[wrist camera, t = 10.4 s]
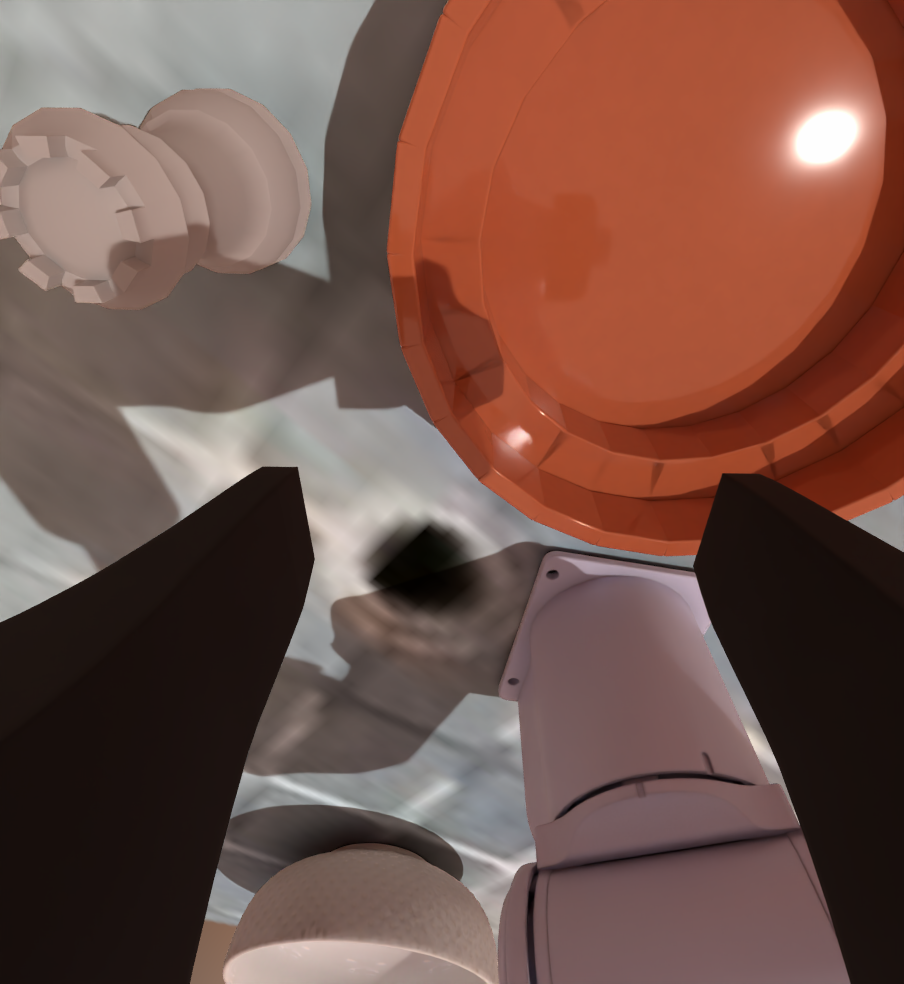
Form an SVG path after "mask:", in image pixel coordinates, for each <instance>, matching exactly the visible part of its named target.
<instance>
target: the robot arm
mask: <svg viewBox="0 0 904 984" xmlns="http://www.w3.org/2000/svg"><path fill="white" fill-rule="evenodd" d="M314 560H315V558H314V552H313V547H312V542H311V536H310V531H309V525H308V520H307V515H306V509H305V504H304V499H303V493H302V488H301V482H300V477H299V472H298V467H261V468H260V469H258V470H256V471H254V472H253V473H251V474H249V475H248V476H246V477H245V478H243V479H242V480H240V481H239V482H237V483H236V484H234V485H233V486H231V487H230V488H228V489H227V490H225V491H224V492H222V493H221V494H219V495H218V496H217V497H215V498H214V499H212V500H211V501H209V502H208V503H206V504H205V505H203V506H202V507H200V508H199V509H197V510H196V511H195V512H193V513H192V514H190V515H189V516H187V517H186V518H184V519H183V520H181V521H180V522H178V523H177V524H175V525H174V526H172V527H171V528H169V529H168V530H166V531H165V532H163V533H161V534H160V535H158V536H157V537H155V538H153V539H152V540H150V541H149V542H147V543H145V544H144V545H142V546H140V547H139V548H137V549H136V550H134V551H132V552H131V553H129V554H128V555H126V556H124V557H123V558H121V559H120V560H118V561H116V562H115V563H113V564H112V565H110V566H108V567H106V568H105V569H103V570H101V571H99V572H98V573H96V574H94V575H92V576H91V577H89V578H87V579H85V580H83V581H82V582H80V583H78V584H76V585H74V586H72V587H71V588H69V589H67V590H65V591H63V592H61V593H59V594H57V595H55V596H53V597H51V598H49V599H48V600H46V601H44V602H42V603H40V604H38V605H36V606H34V607H32V608H30V609H28V610H26V611H24V612H22V613H20V614H18V615H16V616H14V617H11V618H9V619H7V620H5V621H3V622H0V984H190V980H191V975H192V970H193V966H194V962H195V957H196V953H197V949H198V945H199V941H200V936H201V932H202V928H203V924H204V919H205V915H206V911H207V907H208V902H209V898H210V894H211V890H212V885H213V881H214V877H215V874H216V870H217V866H218V862H219V858H220V854H221V850H222V846H223V843H224V839H225V835H226V831H227V827H228V823H229V819H230V816H231V812H232V808H233V805H234V801H235V798H236V794H237V790H238V787H239V783H240V780H241V776H242V773H243V769H244V765H245V762H246V758H247V755H248V751H249V748H250V746H251V743H252V740H253V737H254V734H255V731H256V728H257V725H258V722H259V720H260V717H261V715H262V712H263V710H264V707H265V705H266V702H267V700H268V697H269V695H270V692H271V689H272V687H273V684H274V682H275V679H276V677H277V674H278V672H279V669H280V667H281V664H282V662H283V659H284V656H285V654H286V651H287V649H288V646H289V644H290V641H291V638H292V636H293V633H294V631H295V628H296V625H297V623H298V620H299V618H300V615H301V612H302V609H303V606H304V602H305V598H306V594H307V590H308V586H309V582H310V578H311V573H312V569H313V564H314ZM693 567H694V571H695V572H688V571H682V570H676V569H669V568H663V567H656V566H650V565H644V564H637V563H631V562H625V561H618V560H612V559H606V558H599V557H593V556H587V555H580V554H574V553H567V552H561V551H552V552H549V553H547V554H546V555H545V556H544V558H543V560H542V563H541V566H540V569H539V572H538V574H537V577H536V580H535V583H534V586H533V589H532V592H531V595H530V598H529V600H528V603H527V606H526V609H525V612H524V615H523V618H522V621H521V624H520V626H519V629H518V632H517V635H516V638H515V641H514V644H513V647H512V650H511V652H510V655H509V658H508V661H507V664H506V667H505V670H504V673H503V676H502V678H501V681H500V684H499V688H498V690H499V696H500V697H501V698H503V699H505V700H511V701H518V707H519V721H520V734H521V747H522V760H523V773H524V786H525V800H526V811H527V817H528V823H529V827H530V830H531V833H532V835H533V838H534V840H535V846H536V858H537V862H534V863H528V864H525V865H523V866H521V867H520V868H519V869H518V871H517V872H516V874H515V876H514V879H513V881H512V884H511V888H510V890H509V891H508V893H507V895H506V898H505V900H504V903H503V907H502V911H501V917H500V924H499V936H498V978H499V984H904V552H902V551H900V550H898V549H897V548H895V547H893V546H891V545H889V544H888V543H886V542H884V541H882V540H880V539H879V538H877V537H875V536H873V535H871V534H870V533H868V532H866V531H864V530H863V529H861V528H859V527H857V526H856V525H854V524H852V523H850V522H849V521H847V520H845V519H843V518H842V517H840V516H838V515H836V514H835V513H833V512H831V511H829V510H828V509H826V508H824V507H822V506H821V505H819V504H817V503H815V502H814V501H812V500H810V499H808V498H807V497H805V496H803V495H801V494H799V493H797V492H796V491H794V490H792V489H790V488H788V487H786V486H784V485H783V484H781V483H779V482H777V481H775V480H773V479H770V478H768V477H766V476H764V475H761V474H746V473H722V476H721V479H720V482H719V485H718V489H717V492H716V495H715V498H714V501H713V504H712V508H711V511H710V514H709V517H708V520H707V524H706V527H705V530H704V533H703V536H702V539H701V543H700V546H699V549H698V552H697V555H696V559H695V562H694V565H693ZM550 570H556V572H554V573H548V571H550ZM711 623H712V625H713V628H714V630H715V632H716V634H717V636H718V638H719V640H720V642H721V645H722V647H723V649H724V651H725V653H726V655H727V657H728V659H729V661H730V664H731V666H732V668H733V670H734V672H735V674H736V676H737V678H738V680H739V682H740V684H741V686H742V688H743V690H744V692H745V694H746V697H747V699H748V701H749V703H750V705H751V707H752V709H753V711H754V713H755V715H756V717H757V719H758V721H759V723H760V725H761V728H762V730H763V732H764V734H765V736H766V738H767V740H768V742H769V745H770V747H771V749H772V752H773V754H774V756H775V759H776V761H777V763H778V766H779V768H780V771H781V773H782V776H783V779H784V782H785V784H786V787H787V790H788V793H789V795H790V798H791V801H792V804H793V806H794V809H795V812H796V815H797V817H798V820H799V823H800V825H799V823H798V821H797V819H796V816H795V814H794V812H793V810H792V808H791V806H790V804H789V801H788V799H787V797H786V795H785V793H784V791H783V789H782V786H781V785H779V784H777V783H776V784H769V782H768V779H767V777H766V775H765V773H764V771H763V768H762V766H761V764H760V762H759V759H758V757H757V755H756V753H755V751H754V748H753V746H752V744H751V742H750V739H749V737H748V735H747V733H746V731H745V728H744V726H743V724H742V722H741V719H740V717H739V715H738V713H737V711H736V708H735V706H734V704H733V702H732V699H731V697H730V695H729V693H728V691H727V688H726V686H725V684H724V682H723V680H722V677H721V675H720V673H719V671H718V668H717V666H716V664H715V662H714V660H713V657H712V655H711V653H710V651H709V648H708V646H707V644H706V642H705V640H704V637H703V636H704V634H705V632H706V631H707V629H708V628H709V626H710V624H711Z"/></svg>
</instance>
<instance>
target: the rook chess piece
mask: <svg viewBox="0 0 904 984" xmlns="http://www.w3.org/2000/svg"><path fill="white" fill-rule="evenodd" d="M0 200H1V205H0V240H1V239H5V238H9V237H15V238H16V240H17V241H18V242H19V244H20V245H21V246H22V248H23V249H24V250H25V251H26V253H27V254H28V255H29V257H30V258H31V259H29V260H27V261H26V262H25V263H24V264H23V265H22V266H21V267H20V268H19V269H18V271H20V272H21V273H22V274H24V275H25V276H26V277H28V278H29V279H30V280H32V281H33V282H34V283H36V284H37V285H38V286H39V287H41V288H42V289H43V290H45V291H47V290H50V289H53V288H55V287H58V286H62V287H64V288H65V289H66V290H68V291H69V292H70V293H71V294H73V295H74V299H75V303H94V304H97V305H99V306H102V307H105V308H107V309H133V310H141V309H143V308H146V307H148V306H150V305H152V304H154V303H156V302H158V301H160V300H163V299H165V298H167V297H168V296H169V294H170V293H171V291H172V290H173V288H174V287H175V286H176V284H177V283H178V281H179V280H180V278H181V277H182V276H183V274H185V273H187V272H189V271H191V270H192V269H193V268H194V267H195V265H196V264H197V265H199V266H202V267H204V268H207V269H209V270H211V271H214V272H217V273H235V274H251V273H253V272H255V271H257V270H262V269H264V268H266V267H268V266H270V265H273V264H275V263H277V262H279V261H281V260H283V259H286V258H287V256H288V255H289V254H290V253H291V251H292V250H293V249H294V248H295V246H296V245H297V244H298V243H299V241H300V240H301V239H302V237H303V236H304V233H305V229H306V225H307V221H308V217H309V213H310V209H311V197H310V188H309V180H308V172H307V168H306V165H305V163H304V161H303V159H302V157H301V155H300V153H299V151H298V148H297V146H296V144H295V142H294V140H293V138H292V136H291V134H290V133H289V132H288V130H287V129H286V128H285V127H284V126H283V125H282V124H281V123H280V122H279V121H278V120H277V119H276V118H275V117H274V116H273V115H272V114H271V113H270V112H269V111H268V109H267V108H266V107H265V106H264V105H262V104H260V103H258V102H256V101H254V100H252V99H250V98H248V97H246V96H244V95H241V94H239V93H237V92H235V91H233V90H231V89H194V90H181V91H179V92H177V93H176V94H174V95H172V96H171V97H169V98H167V99H165V100H164V101H162V102H160V103H158V104H157V105H155V106H154V107H153V108H151V109H150V111H149V113H148V114H147V116H146V118H145V120H144V121H143V123H142V125H141V127H140V128H139V129H138V128H136V127H134V126H132V125H117V124H115V123H113V122H110V121H108V120H106V119H104V118H102V117H99V116H97V115H95V114H93V113H91V112H88V111H86V110H84V109H82V108H40V109H39V110H37V111H35V112H34V113H32V114H31V115H29V116H27V117H26V118H24V119H22V120H21V121H19V122H17V123H16V124H14V125H13V126H12V128H11V130H10V132H9V135H8V137H7V139H6V141H5V143H4V146H3V148H2V149H0Z"/></svg>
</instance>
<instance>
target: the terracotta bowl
mask: <svg viewBox="0 0 904 984" xmlns="http://www.w3.org/2000/svg"><path fill="white" fill-rule="evenodd" d="M399 140H400V141H398V142H397V147H396V157H395V167H394V178H393V188H392V198H391V208H390V219H389V229H388V239H387V249H386V251H387V253H388V254H387V262H388V268H389V275H390V282H391V289H392V296H393V303H394V309H395V316H396V323H397V330H398V337H399V343H400V346H402V347H401V351H402V353H403V355H404V358H405V360H406V362H407V365H408V367H409V369H410V372H411V374H412V376H413V379H414V381H415V383H416V386H417V388H418V390H419V393H420V395H421V397H422V400H423V402H424V404H425V407H426V409H427V411H428V414H429V416H430V418H431V420H432V421H433V423H434V425H435V426H436V428H437V429H438V430H439V431H440V433H441V434H442V435H443V437H444V438H445V439H446V440H447V442H448V443H449V444H450V445H451V447H452V448H453V449H454V450H455V452H456V453H457V454H458V455H459V457H460V458H461V459H462V461H463V462H464V463H465V464H466V466H467V467H468V468H469V469H470V471H471V472H472V473H473V474H474V476H475V477H476V478H477V479H478V480H479V481H480V482H481V483H482V484H484V485H485V486H486V487H488V488H489V489H491V490H492V491H493V492H495V493H496V494H497V495H499V496H500V497H501V498H503V499H504V500H505V501H507V502H508V503H510V504H511V505H512V506H514V507H515V508H516V509H518V510H519V511H520V512H522V513H523V514H524V515H526V516H527V517H528V518H530V519H531V520H534V521H536V522H538V523H541V524H543V525H546V526H548V527H551V528H553V529H555V530H558V531H560V532H563V533H565V534H568V535H570V536H573V537H575V538H578V539H580V540H583V541H585V542H588V543H590V544H592V545H595V544H596V545H597V546H601V547H607V548H613V549H620V550H626V551H632V552H638V553H645V554H651V555H657V556H663V555H664V556H685V555H697V552H698V549H699V546H700V543H701V539H702V536H703V533H704V530H705V527H706V524H707V520H708V517H709V514H710V511H711V508H712V504H713V501H714V498H715V495H716V492H717V489H718V485H719V482H720V479H721V476H722V473H746V474H761V475H764V476H766V477H768V478H770V479H773V480H775V481H777V482H779V483H781V484H783V485H784V486H786V487H788V488H790V489H792V490H794V491H796V492H797V493H799V494H801V495H803V496H805V497H807V498H808V499H810V500H812V501H814V502H815V503H817V504H819V505H821V506H822V507H824V508H826V509H828V510H829V511H831V512H833V513H835V514H836V515H838V516H840V517H842V518H843V519H845V520H847V521H848V520H850V519H853V518H855V517H858V516H860V515H862V514H865V513H867V512H869V511H872V510H874V509H877V508H879V507H881V506H884V505H886V504H888V503H891V502H892V500H897V499H898V498H900V497H901V496H903V495H904V0H448V1H447V3H446V5H445V6H444V8H443V14H441V15H440V17H439V19H438V22H437V25H436V28H435V31H434V34H433V37H432V39H431V42H430V45H429V48H428V51H427V54H426V57H425V60H424V63H423V66H422V69H421V72H420V75H419V78H418V81H417V84H416V86H415V89H414V92H413V95H412V98H411V101H410V104H409V107H408V110H407V113H406V116H405V119H404V122H403V125H402V128H401V131H400V133H399Z"/></svg>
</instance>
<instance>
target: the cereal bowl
mask: <svg viewBox="0 0 904 984" xmlns="http://www.w3.org/2000/svg"><path fill="white" fill-rule="evenodd" d="M223 978H224V981H225V983H226V984H499V978H498V965H497V953H496V945H495V941H494V938H493V932H492V929H491V927H490V924H489V921H488V918H487V916H486V914H485V912H484V910H483V909H482V907H481V905H480V903H479V902H478V901H477V900H476V898H475V897H474V895H473V894H472V893H471V892H470V891H469V890H468V888H467V887H465V886H464V885H463V884H462V883H461V882H460V881H458V880H456V879H455V877H454V876H451V875H449V874H448V873H447V872H445V871H443V870H441V869H439V868H438V867H436V866H433V865H431V864H430V863H428V862H427V861H425V860H424V859H423V858H422V857H420V856H419V855H417V854H415V853H413V852H411V851H409V850H406V849H403V848H400V847H396V846H391V845H386V844H378V843H359V844H352V845H347V846H344V847H341V848H338V849H336V850H334V851H332V852H327V853H323V854H318V855H315V856H311V857H308V858H304V859H302V860H301V861H298V862H295V863H293V864H292V865H290V866H287V867H285V868H284V869H283V870H281V871H279V872H278V873H277V874H276V875H275V876H273V877H271V878H270V879H269V881H268V882H267V883H265V884H264V885H263V886H262V887H261V889H260V890H259V891H258V892H257V893H256V894H255V895H254V897H253V899H252V900H251V902H250V903H249V904H248V906H247V908H246V910H245V912H244V914H243V915H242V917H241V920H240V922H239V924H238V926H237V928H236V931H235V933H234V936H233V938H232V941H231V943H230V947H229V949H228V952H227V955H226V958H225V961H224V966H223Z"/></svg>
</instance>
